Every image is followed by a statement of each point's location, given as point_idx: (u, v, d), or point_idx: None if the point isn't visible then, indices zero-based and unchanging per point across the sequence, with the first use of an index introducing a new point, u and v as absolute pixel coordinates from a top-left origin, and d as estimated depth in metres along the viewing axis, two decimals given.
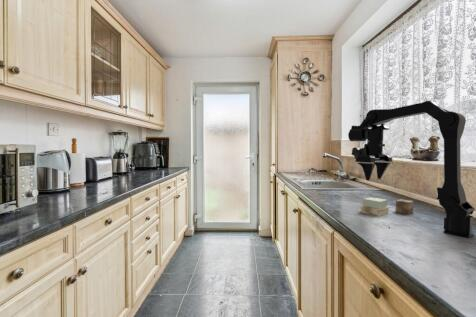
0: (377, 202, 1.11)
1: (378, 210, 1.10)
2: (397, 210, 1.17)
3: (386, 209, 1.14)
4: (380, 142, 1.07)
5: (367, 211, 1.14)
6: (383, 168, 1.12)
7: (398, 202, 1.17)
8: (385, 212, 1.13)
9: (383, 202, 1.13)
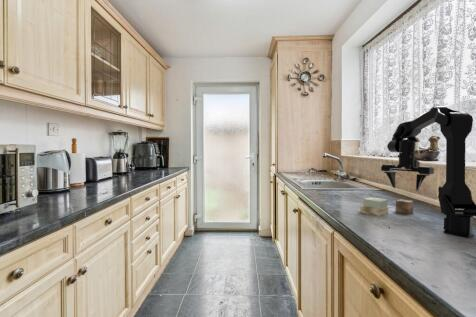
0: (377, 202, 1.11)
1: (378, 210, 1.10)
2: (397, 210, 1.17)
3: (386, 209, 1.13)
4: (401, 153, 1.15)
5: (367, 211, 1.14)
6: None
7: (398, 202, 1.17)
8: (385, 212, 1.13)
9: (383, 202, 1.13)
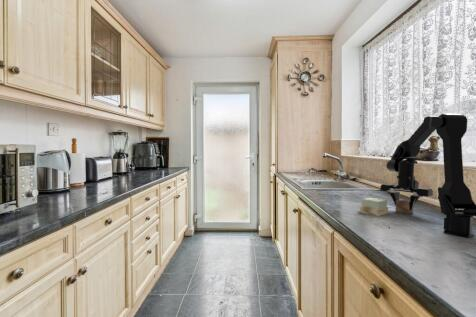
0: (376, 202, 1.11)
1: (377, 210, 1.10)
2: (397, 210, 1.17)
3: (385, 209, 1.13)
4: (400, 174, 1.16)
5: (366, 211, 1.14)
6: None
7: (398, 202, 1.17)
8: (384, 212, 1.13)
9: (382, 202, 1.12)
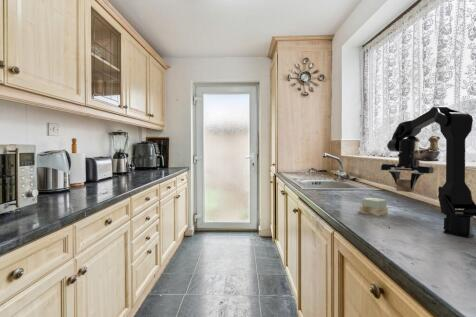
0: (376, 202, 1.11)
1: (377, 210, 1.10)
2: (398, 189, 1.17)
3: (385, 209, 1.13)
4: (401, 153, 1.15)
5: (366, 211, 1.14)
6: None
7: (399, 180, 1.16)
8: (384, 212, 1.13)
9: (382, 202, 1.13)
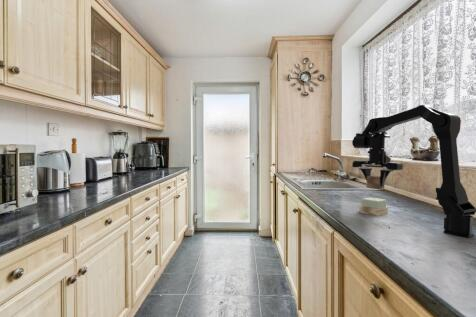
0: (375, 202, 1.11)
1: (377, 210, 1.10)
2: (368, 186, 1.15)
3: (385, 209, 1.13)
4: (371, 149, 1.14)
5: (366, 211, 1.14)
6: None
7: (369, 177, 1.15)
8: (384, 212, 1.13)
9: (382, 202, 1.13)
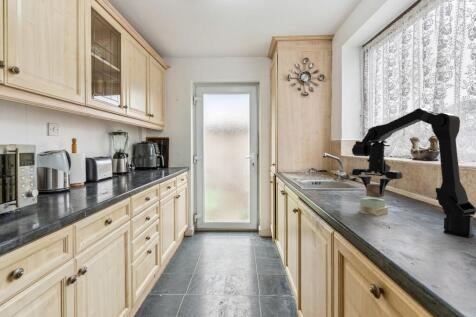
0: (374, 202, 1.11)
1: (377, 210, 1.10)
2: (368, 194, 1.15)
3: (385, 209, 1.13)
4: (370, 158, 1.14)
5: (366, 211, 1.14)
6: None
7: (369, 186, 1.15)
8: (384, 212, 1.13)
9: (381, 202, 1.13)
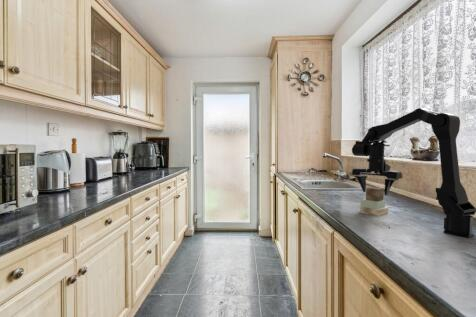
0: (375, 202, 1.11)
1: (377, 210, 1.10)
2: (367, 198, 1.15)
3: (386, 209, 1.13)
4: (370, 158, 1.14)
5: (366, 211, 1.14)
6: None
7: (368, 189, 1.14)
8: (385, 212, 1.13)
9: (381, 202, 1.12)
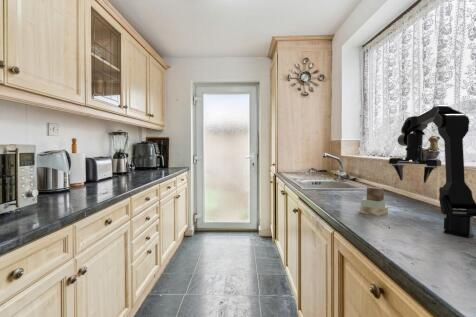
0: (376, 202, 1.11)
1: (377, 210, 1.10)
2: (368, 197, 1.14)
3: (385, 209, 1.13)
4: (409, 146, 1.17)
5: (366, 211, 1.14)
6: None
7: (369, 189, 1.14)
8: (384, 212, 1.13)
9: (381, 202, 1.12)
